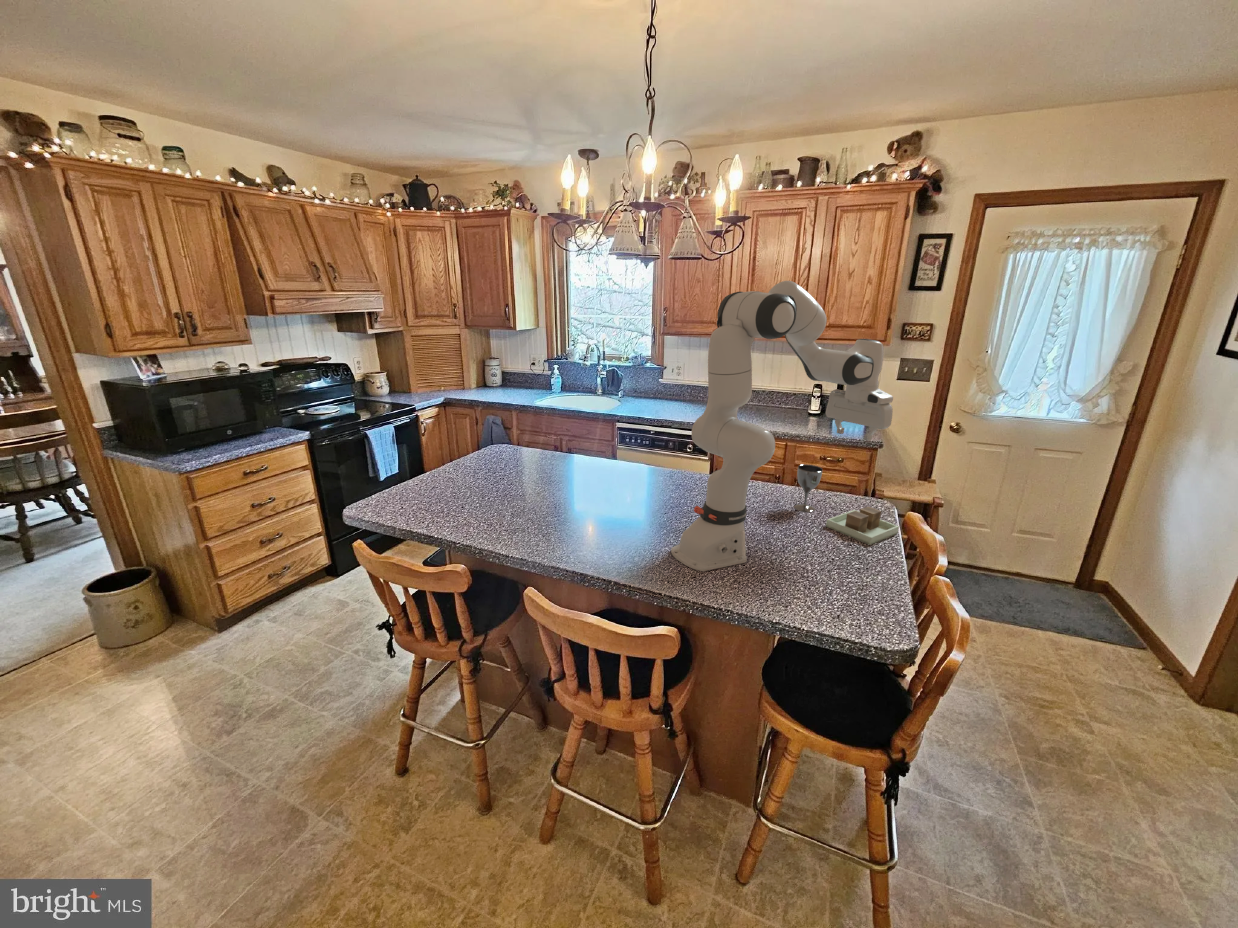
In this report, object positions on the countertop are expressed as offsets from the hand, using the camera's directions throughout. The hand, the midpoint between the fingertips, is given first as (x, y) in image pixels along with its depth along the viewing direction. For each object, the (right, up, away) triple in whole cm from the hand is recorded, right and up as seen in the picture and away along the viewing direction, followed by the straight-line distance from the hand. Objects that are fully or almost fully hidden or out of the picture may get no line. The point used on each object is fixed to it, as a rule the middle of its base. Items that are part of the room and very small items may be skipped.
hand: (853, 436), depth 157 cm
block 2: (+7, -29, +5) cm, 30 cm away
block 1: (+1, -30, +1) cm, 30 cm away
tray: (+4, -30, +3) cm, 30 cm away
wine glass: (-8, -24, +19) cm, 32 cm away
